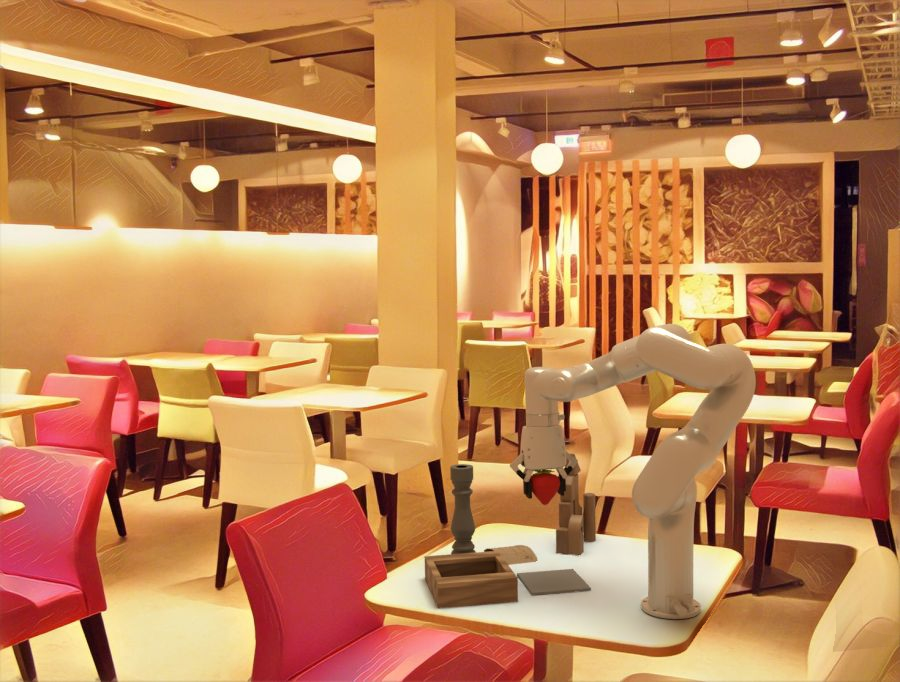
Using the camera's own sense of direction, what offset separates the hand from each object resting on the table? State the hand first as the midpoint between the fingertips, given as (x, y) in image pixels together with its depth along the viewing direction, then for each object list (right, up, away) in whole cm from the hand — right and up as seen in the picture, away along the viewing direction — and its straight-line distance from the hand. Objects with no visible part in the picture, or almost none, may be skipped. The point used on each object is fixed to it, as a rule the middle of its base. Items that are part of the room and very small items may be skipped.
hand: (544, 495), depth 223 cm
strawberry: (0, -2, 0) cm, 2 cm away
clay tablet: (-6, -20, +23) cm, 31 cm away
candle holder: (-19, -20, +17) cm, 32 cm away
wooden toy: (+12, -19, +30) cm, 37 cm away
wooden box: (-17, -22, -1) cm, 28 cm away
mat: (+2, -21, +3) cm, 21 cm away
